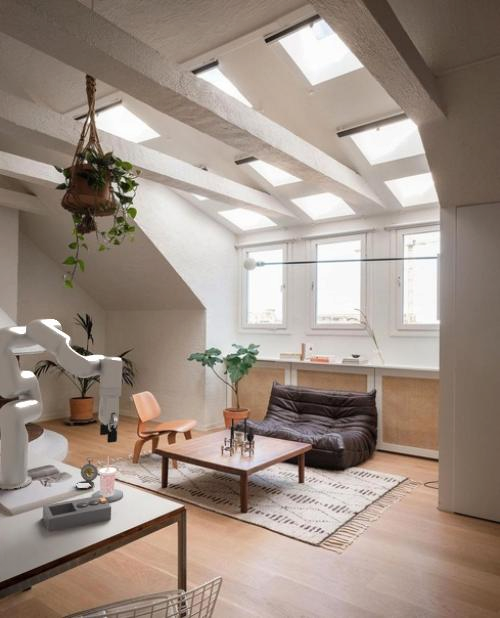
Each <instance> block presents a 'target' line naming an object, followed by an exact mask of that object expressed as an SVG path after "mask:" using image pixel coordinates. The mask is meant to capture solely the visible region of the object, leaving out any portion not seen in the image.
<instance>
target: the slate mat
mask: <svg viewBox="0 0 500 618" xmlns="http://www.w3.org/2000/svg"><path fill="white" fill-rule="evenodd" d="M123 492H124V491H122V490H121V489H116V488H114V494H113V496H111V497H104V498H105V499H106V500H107V502H108V503H109V504H110V503H114V502H117V501H119V500H121V499H123V497H124V493H123ZM99 495H100V490H97V491H95V492H93V493H92V494H91V497H94V496H99Z"/></svg>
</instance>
